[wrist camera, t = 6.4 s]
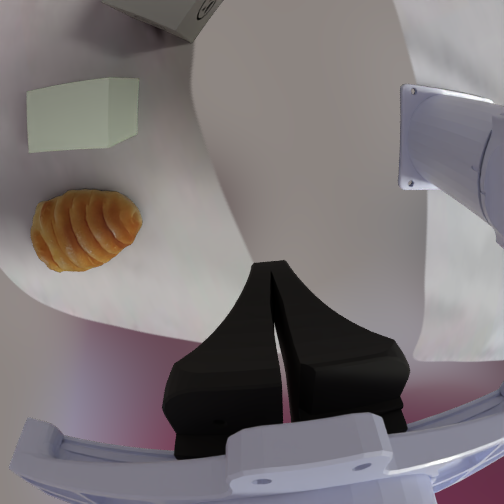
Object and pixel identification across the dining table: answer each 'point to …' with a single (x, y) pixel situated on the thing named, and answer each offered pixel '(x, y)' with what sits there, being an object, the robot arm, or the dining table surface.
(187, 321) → the dining table surface
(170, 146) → the dining table surface
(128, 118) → the grey-green block
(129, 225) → the pastry
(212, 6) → the grey symbol cube
